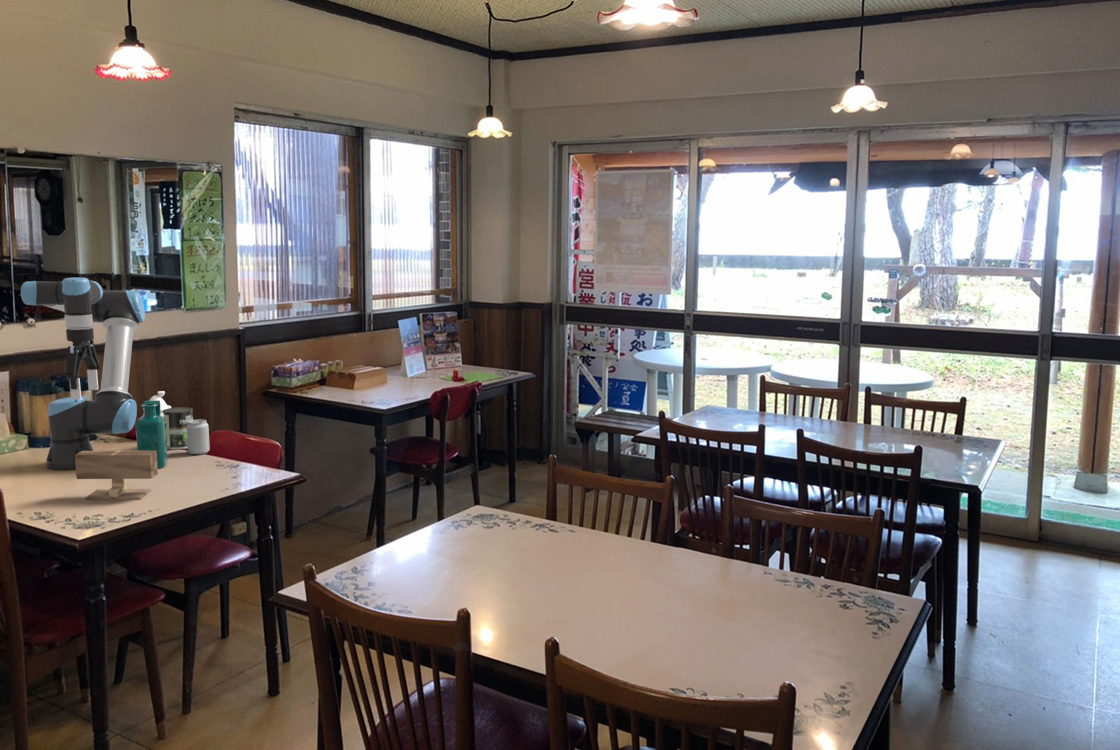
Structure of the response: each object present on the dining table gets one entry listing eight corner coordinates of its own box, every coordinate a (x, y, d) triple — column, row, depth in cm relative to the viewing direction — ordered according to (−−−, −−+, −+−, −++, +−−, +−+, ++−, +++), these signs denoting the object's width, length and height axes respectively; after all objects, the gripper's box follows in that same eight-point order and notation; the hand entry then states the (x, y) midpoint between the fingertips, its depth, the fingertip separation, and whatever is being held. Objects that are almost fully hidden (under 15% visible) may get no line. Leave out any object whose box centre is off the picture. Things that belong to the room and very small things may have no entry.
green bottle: (164, 468, 303) (160, 405, 300) (137, 469, 301) (133, 406, 298) (169, 461, 313) (165, 399, 309) (143, 462, 311) (139, 400, 307)
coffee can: (200, 444, 336) (198, 408, 334) (180, 450, 327) (178, 413, 325) (179, 441, 340) (177, 405, 338) (158, 448, 330) (156, 411, 328)
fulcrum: (97, 491, 276) (95, 473, 275) (150, 491, 277) (149, 472, 276) (86, 499, 268) (84, 480, 267) (140, 499, 269) (139, 480, 268)
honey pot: (177, 432, 355) (175, 388, 352) (174, 440, 343) (171, 394, 340) (142, 434, 351) (139, 389, 348) (138, 441, 339) (135, 395, 336)
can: (214, 451, 326) (212, 419, 324) (198, 456, 320) (196, 423, 318) (199, 449, 329) (197, 417, 327) (183, 453, 323) (181, 421, 321)
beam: (84, 474, 273) (82, 450, 272) (157, 474, 275) (156, 450, 274) (76, 479, 268) (74, 454, 267) (151, 478, 270) (150, 454, 269)
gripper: (83, 322, 288) (88, 386, 292) (48, 333, 263) (55, 403, 268) (107, 322, 289) (112, 386, 293) (75, 334, 264) (81, 403, 268)
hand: (85, 394), depth 280 cm, fingers open, 13 cm apart
